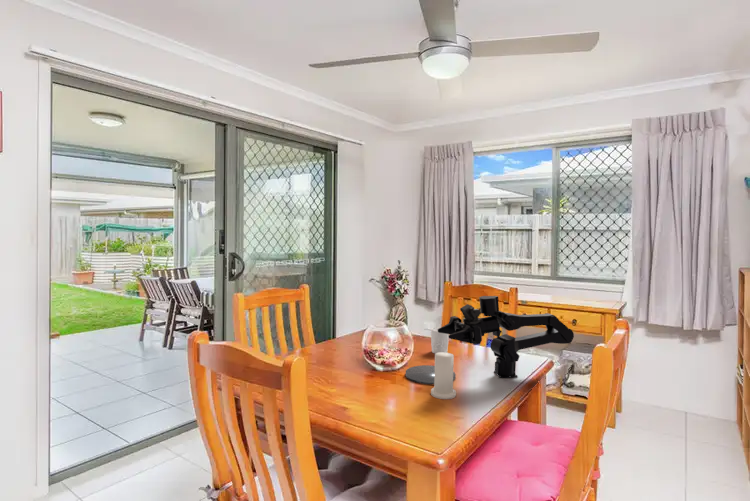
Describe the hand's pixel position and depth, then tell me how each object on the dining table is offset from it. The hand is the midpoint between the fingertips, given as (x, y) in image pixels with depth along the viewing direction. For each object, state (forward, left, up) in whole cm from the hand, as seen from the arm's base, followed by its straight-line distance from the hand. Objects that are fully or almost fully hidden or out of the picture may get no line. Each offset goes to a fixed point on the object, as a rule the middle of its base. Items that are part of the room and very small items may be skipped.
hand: (443, 333), depth 157 cm
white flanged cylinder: (+4, +13, -17) cm, 22 cm away
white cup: (-11, -35, -17) cm, 41 cm away
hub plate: (+3, -5, -17) cm, 18 cm away
